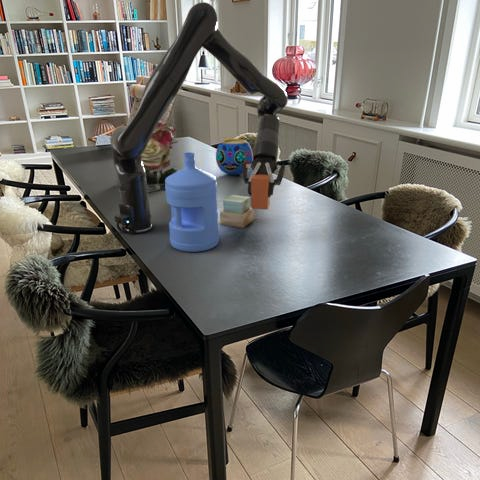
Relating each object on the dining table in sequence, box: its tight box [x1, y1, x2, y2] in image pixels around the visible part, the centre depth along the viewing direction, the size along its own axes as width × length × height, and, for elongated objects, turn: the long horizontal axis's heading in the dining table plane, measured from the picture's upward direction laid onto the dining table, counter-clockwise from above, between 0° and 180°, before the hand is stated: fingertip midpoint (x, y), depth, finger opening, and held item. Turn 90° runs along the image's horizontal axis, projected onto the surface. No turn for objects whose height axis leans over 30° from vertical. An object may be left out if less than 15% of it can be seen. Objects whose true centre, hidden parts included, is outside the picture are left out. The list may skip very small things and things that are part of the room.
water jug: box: [164, 151, 220, 253], centre depth 149 cm, size 16×16×28 cm
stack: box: [219, 194, 255, 229], centre depth 171 cm, size 9×9×8 cm
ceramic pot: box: [215, 138, 254, 176], centre depth 228 cm, size 18×18×15 cm
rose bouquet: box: [141, 116, 179, 193], centre depth 209 cm, size 26×29×30 cm
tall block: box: [250, 174, 271, 210], centre depth 151 cm, size 5×5×10 cm
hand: (259, 195), depth 150 cm, fingers closed on tall block, 5 cm apart
